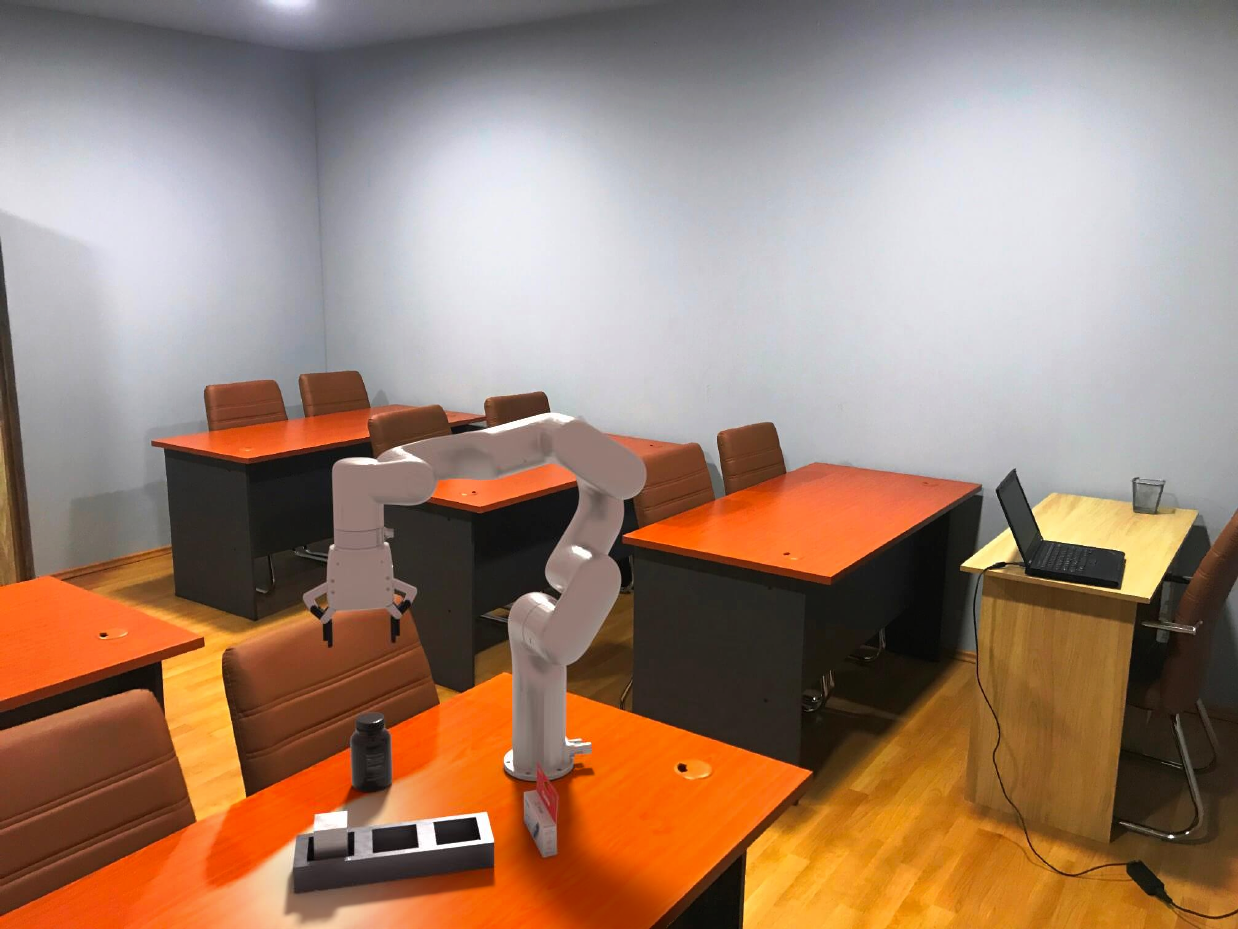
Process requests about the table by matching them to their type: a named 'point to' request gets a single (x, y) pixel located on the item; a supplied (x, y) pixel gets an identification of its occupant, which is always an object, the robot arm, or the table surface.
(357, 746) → the supplement bottle
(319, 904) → the table surface
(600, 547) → the robot arm
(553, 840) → the ink cartridge box
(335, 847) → the light grey block
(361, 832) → the dark grey compartment tray
